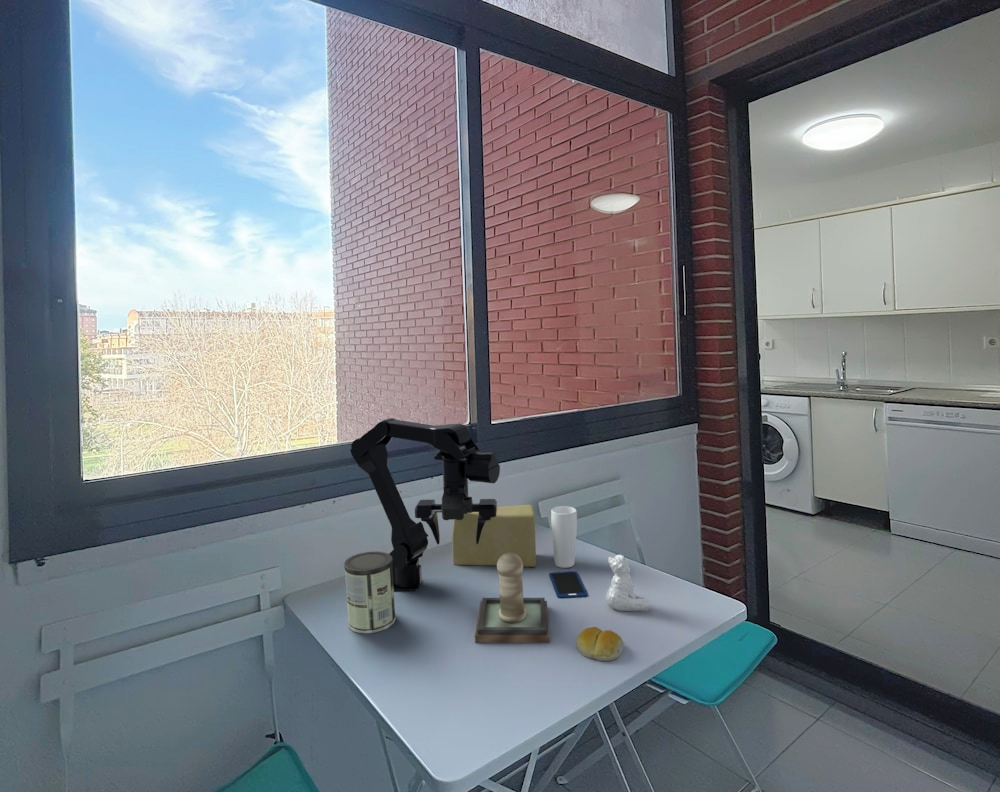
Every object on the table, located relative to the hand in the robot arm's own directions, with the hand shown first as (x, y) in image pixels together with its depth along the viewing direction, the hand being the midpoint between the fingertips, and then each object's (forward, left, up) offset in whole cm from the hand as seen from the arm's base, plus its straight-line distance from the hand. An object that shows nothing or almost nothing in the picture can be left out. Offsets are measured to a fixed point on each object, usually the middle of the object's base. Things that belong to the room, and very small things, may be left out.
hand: (457, 543), depth 139 cm
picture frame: (+13, -13, -13) cm, 23 cm away
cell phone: (+26, +6, -14) cm, 30 cm away
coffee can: (-18, -12, -13) cm, 25 cm away
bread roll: (+30, -23, -13) cm, 40 cm away
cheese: (+7, +20, -13) cm, 25 cm away
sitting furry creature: (+38, -5, -13) cm, 41 cm away
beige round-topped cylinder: (+13, -13, -11) cm, 21 cm away
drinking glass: (+26, +18, -13) cm, 34 cm away
